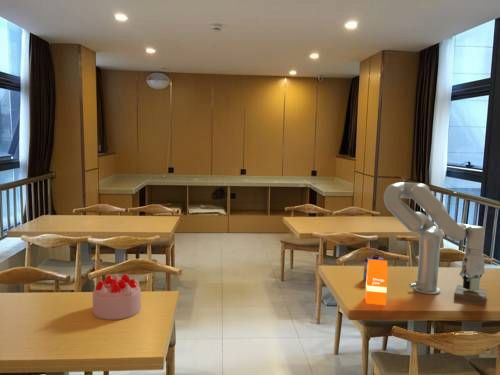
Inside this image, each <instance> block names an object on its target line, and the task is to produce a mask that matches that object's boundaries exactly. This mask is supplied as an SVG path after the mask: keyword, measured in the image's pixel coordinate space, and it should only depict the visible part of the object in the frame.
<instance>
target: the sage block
mask: <svg viewBox="0 0 500 375" xmlns="http://www.w3.org/2000/svg"><path fill="white" fill-rule="evenodd" d="M466 277H468V276H466ZM462 280H463V279H462ZM469 281H470V288H469V289H467V290H469V291H476V290H479V289H480V283H481V278H478V277H476V276H470V280H469ZM463 284H464V280H463V281H462V285H463ZM463 288H464V287H463ZM465 289H466V288H465Z"/></svg>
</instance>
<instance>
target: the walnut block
mask: <svg viewBox="0 0 500 375" xmlns="http://www.w3.org/2000/svg"><path fill="white" fill-rule="evenodd" d="M486 297H487V289H482V288H479V290H476V291H469V290H467V289H465V288H463V285H460V284H459V285H458V284H457V285H456V288H455V291H454V294H453V301H455V302H461V303H467V304H472V305H477V306H482V307H485V305H486Z"/></svg>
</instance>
